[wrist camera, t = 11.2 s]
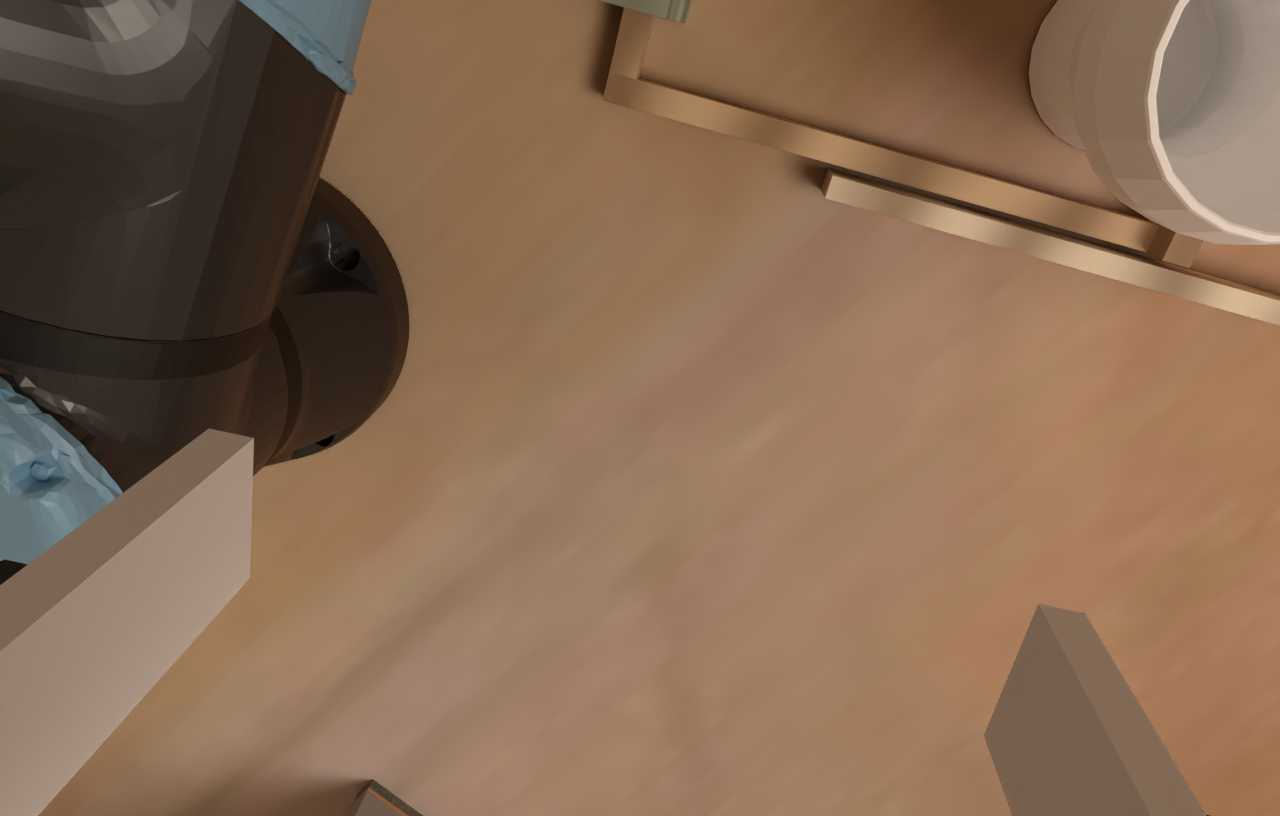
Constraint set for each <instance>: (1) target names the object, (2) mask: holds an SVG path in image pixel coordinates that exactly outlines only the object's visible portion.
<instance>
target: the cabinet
mask: <svg viewBox="0 0 1280 816" xmlns="http://www.w3.org/2000/svg"><path fill="white" fill-rule="evenodd" d="M347 816H423V815H421V814H420V813H418V812H417V811H416V810H414V809H413V808H412V807H410V806H409V805H407V804H406V803H405V802H403V801H402V800H401V799H399V798H398V797H396V796H395V795H394V794H392V793H391V792H389V791H388V790H387V789H385V788H384V787H383V786H381V785H380V784H378V783H377V782H376V781H374V780H372V781H371V782H370V783H369V784H367V785H366V786H365V787H364V788H363V789H362V790H361V791H360V792H359V793H358V795H357V797H356V799H355V801H354V803H353V805H352V807H351V809H350V811H349V813H348V815H347Z"/></svg>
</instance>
